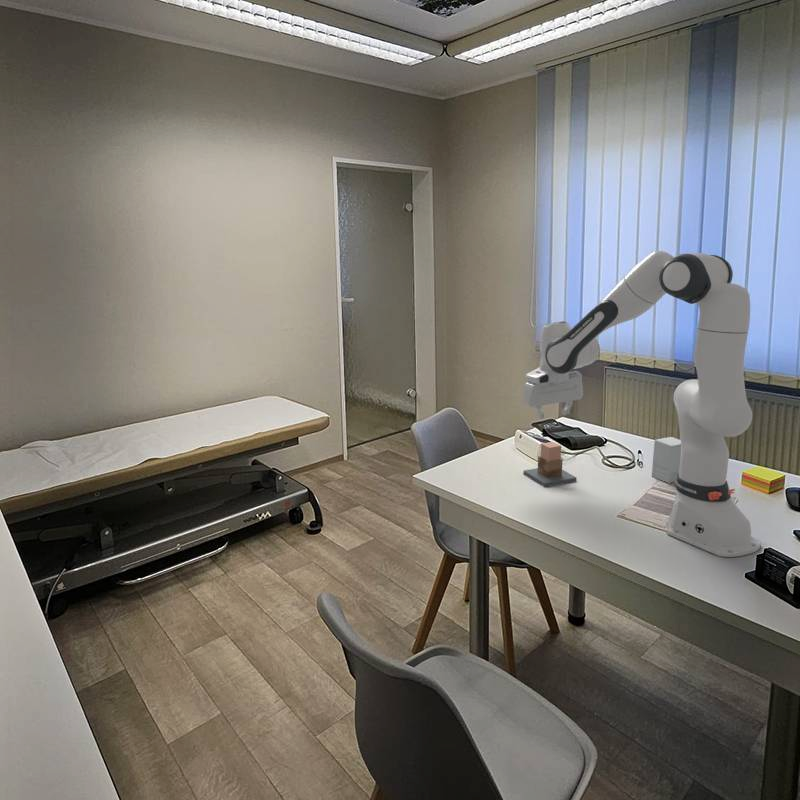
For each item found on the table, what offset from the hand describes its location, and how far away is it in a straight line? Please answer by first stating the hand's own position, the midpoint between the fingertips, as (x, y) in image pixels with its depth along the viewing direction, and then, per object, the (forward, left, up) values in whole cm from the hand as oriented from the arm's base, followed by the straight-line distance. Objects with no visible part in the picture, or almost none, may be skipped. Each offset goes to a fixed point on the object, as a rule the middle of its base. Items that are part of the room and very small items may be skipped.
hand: (553, 416), depth 193 cm
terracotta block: (0, 0, -14) cm, 14 cm away
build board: (0, 0, -21) cm, 21 cm away
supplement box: (-16, -34, -21) cm, 43 cm away
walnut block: (0, 0, -19) cm, 19 cm away
